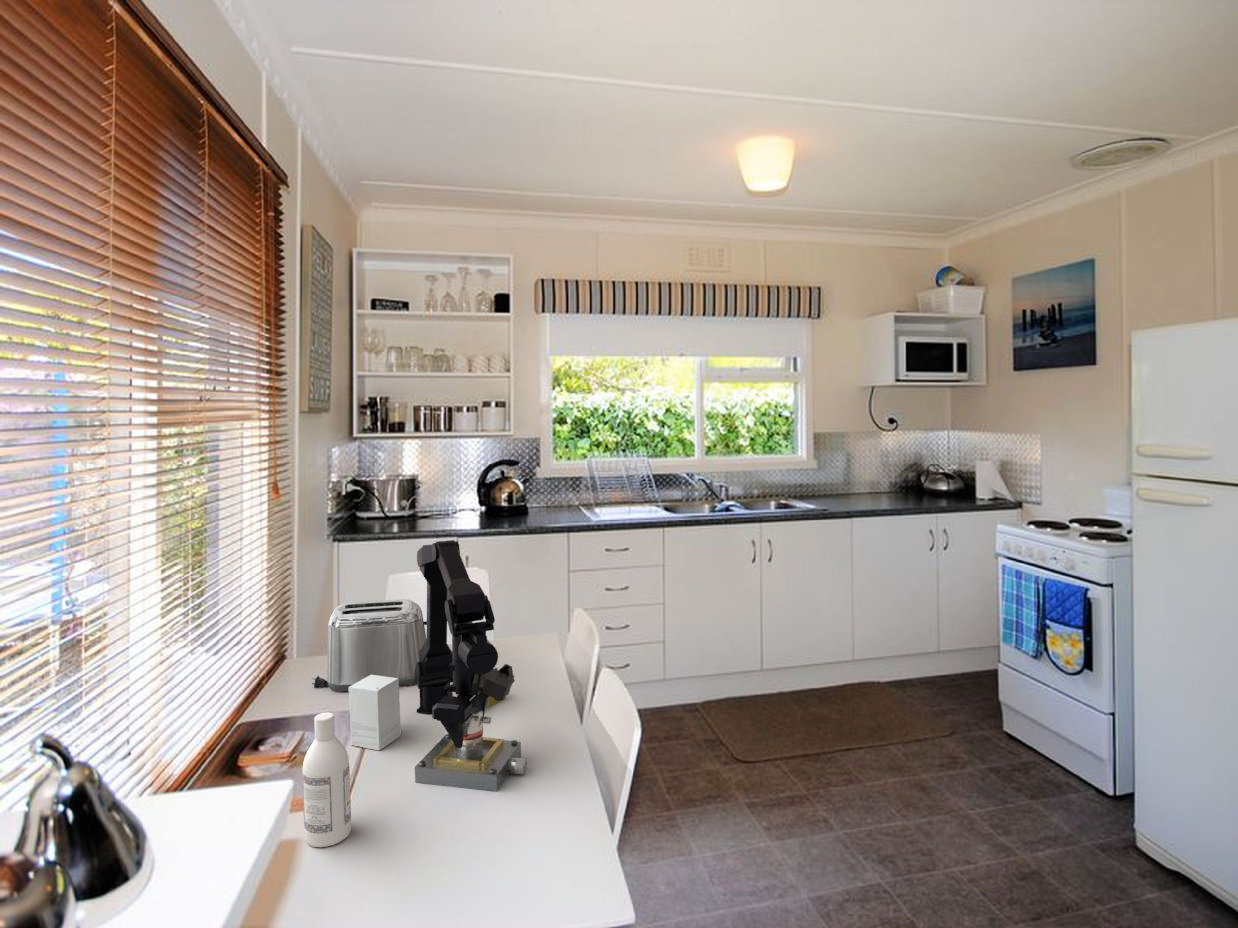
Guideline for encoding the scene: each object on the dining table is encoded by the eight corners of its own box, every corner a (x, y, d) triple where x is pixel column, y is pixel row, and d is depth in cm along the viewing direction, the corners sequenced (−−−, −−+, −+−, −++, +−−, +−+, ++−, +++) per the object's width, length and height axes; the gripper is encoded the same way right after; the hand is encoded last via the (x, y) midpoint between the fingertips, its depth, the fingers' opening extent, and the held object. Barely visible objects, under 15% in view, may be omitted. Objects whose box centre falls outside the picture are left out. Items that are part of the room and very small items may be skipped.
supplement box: (402, 735, 146) (400, 677, 145) (379, 751, 139) (377, 690, 138) (373, 730, 148) (371, 673, 147) (349, 745, 141) (347, 686, 140)
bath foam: (338, 817, 116) (334, 702, 114) (359, 833, 111) (355, 714, 110) (297, 836, 111) (292, 716, 109) (317, 854, 106) (313, 729, 105)
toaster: (433, 686, 172) (431, 611, 171) (306, 698, 165) (303, 620, 164) (434, 662, 188) (433, 594, 187) (319, 672, 181) (317, 601, 180)
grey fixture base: (415, 782, 127) (414, 761, 127) (446, 748, 140) (445, 729, 139) (512, 793, 123) (512, 771, 123) (535, 757, 136) (535, 738, 136)
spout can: (451, 758, 130) (451, 717, 129) (462, 745, 135) (462, 706, 134) (485, 762, 128) (484, 721, 128) (495, 749, 133) (495, 709, 133)
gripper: (489, 678, 119) (490, 764, 121) (524, 643, 138) (525, 718, 139) (429, 673, 122) (431, 758, 123) (472, 639, 140) (473, 713, 141)
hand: (469, 736), depth 131 cm, fingers open, 9 cm apart
